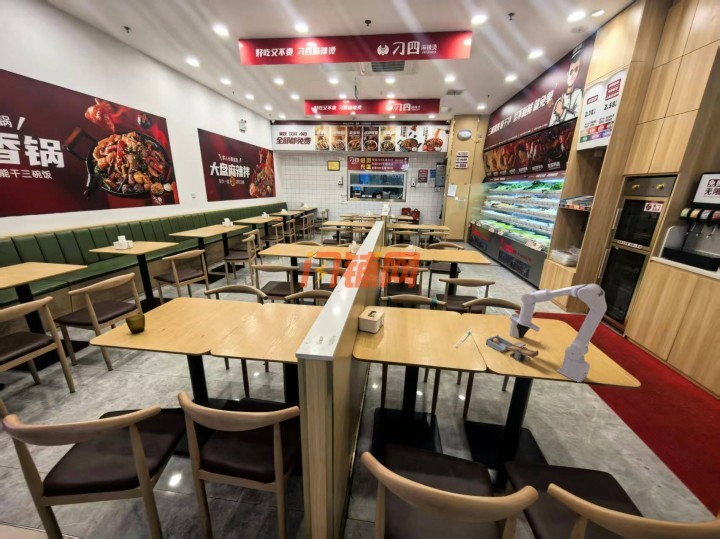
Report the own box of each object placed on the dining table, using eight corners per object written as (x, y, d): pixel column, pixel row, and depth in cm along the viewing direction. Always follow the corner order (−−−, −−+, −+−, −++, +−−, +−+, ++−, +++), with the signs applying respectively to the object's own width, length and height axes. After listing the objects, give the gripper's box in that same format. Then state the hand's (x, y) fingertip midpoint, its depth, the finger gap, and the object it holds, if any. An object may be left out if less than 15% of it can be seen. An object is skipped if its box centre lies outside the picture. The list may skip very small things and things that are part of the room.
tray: (511, 348, 152) (512, 342, 151) (501, 352, 147) (502, 347, 146) (496, 340, 159) (497, 334, 158) (485, 344, 155) (486, 338, 154)
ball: (500, 342, 154) (498, 337, 155) (496, 344, 152) (494, 338, 153) (495, 343, 156) (493, 338, 157) (492, 344, 155) (490, 339, 156)
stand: (529, 358, 143) (531, 350, 141) (521, 362, 139) (523, 354, 138) (518, 352, 148) (520, 344, 146) (510, 356, 144) (511, 348, 143)
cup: (524, 339, 161) (528, 320, 158) (509, 337, 163) (513, 318, 159) (519, 332, 169) (523, 314, 165) (505, 330, 170) (509, 312, 167)
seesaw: (546, 351, 141) (546, 346, 141) (532, 358, 135) (532, 353, 135) (518, 342, 153) (518, 338, 153) (505, 348, 147) (505, 344, 147)
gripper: (545, 318, 141) (539, 342, 145) (517, 307, 153) (512, 329, 157) (537, 321, 138) (531, 345, 142) (509, 310, 149) (504, 332, 153)
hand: (521, 337), depth 149 cm, fingers closed
